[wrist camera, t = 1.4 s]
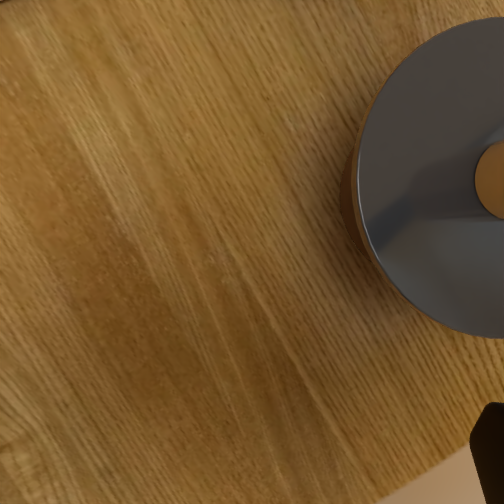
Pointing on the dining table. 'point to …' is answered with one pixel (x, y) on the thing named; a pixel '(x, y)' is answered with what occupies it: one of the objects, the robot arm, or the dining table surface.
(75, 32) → the dining table surface
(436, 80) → the lid
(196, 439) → the dining table surface
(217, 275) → the dining table surface
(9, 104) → the dining table surface
